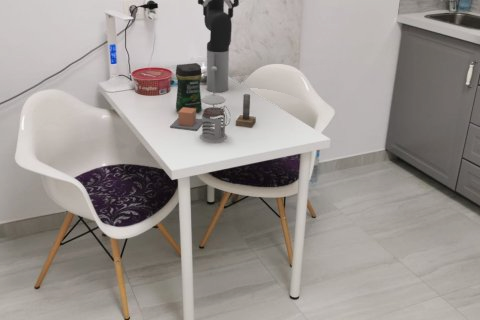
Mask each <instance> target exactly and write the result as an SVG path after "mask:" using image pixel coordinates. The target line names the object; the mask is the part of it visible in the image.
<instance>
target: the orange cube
mask: <svg viewBox="0 0 480 320" xmlns="http://www.w3.org/2000/svg"><path fill="white" fill-rule="evenodd" d="M177 112H178V111H177ZM177 114H178V115H177V116H178V117H177V119H178V123H179V125H184V126H193V125H194V123H195V122H196V118H197V113H196V109H194V108H186V107H183V108H182V109H181V110H180V111H179V112H178V113H177Z"/></svg>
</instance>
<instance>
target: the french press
mask: <svg viewBox="0 0 480 320" xmlns="http://www.w3.org/2000/svg"><path fill="white" fill-rule="evenodd" d="M211 70H212V71H216V70H217V68H216V67H212V68H211ZM226 100H227V99H226V98H225V97H224V96H222V95H220V94H217V93H216V94H215V92H214V87H213V92H212V93H211V94H207V95H205V96H203V97H201V102H202V103H204V104H206V105H210V106H212V107H210V106H208V107H206V108H204V109H203V110H202V112H203V113H202V115H201V119H202V125H201V129H202V130H201V132H202V133H201V134H200V135H199V137H198V138H199V139H200V140H201V141H202V142H205V143H210V144H216V143H217V144H218V143H223V142H226V140H228V137H229V136H228V135H227V134H226V127H227V126H228V125H230V122H231V119H229V122H228V115H227V112H226V110H225V108H226V109H227V111H228V114H229V116H231V112H230V109H229V108H228V107H227V106H226V105H223V107H222V106H220V107H217V106H218V105H222V104H224V103H225V102H226ZM215 105H216V106H215ZM215 117H216V118H215Z"/></svg>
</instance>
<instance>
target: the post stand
mask: <svg viewBox="0 0 480 320" xmlns="http://www.w3.org/2000/svg"><path fill="white" fill-rule="evenodd" d="M250 108H251V94H248V93H245V94H243V101H242V114H240V115H238V117H237V118H236V120H235V126H236V127H244V128H253V127H254V125H255V124H256V120H257V118H256V117H257V116H252V115H250V112H251V111H250Z"/></svg>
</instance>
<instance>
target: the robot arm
mask: <svg viewBox="0 0 480 320" xmlns="http://www.w3.org/2000/svg"><path fill="white" fill-rule="evenodd" d="M197 4H198V5H201V6H202V8H203V9H202V15H203V16H204V17H203V18H204V26H205V28H206V29H207V30H208V31H210V37H209V38H210V39H209V41H208V42H207V44H206V89H207V90H208V91H209V92H212V93H213V87H214V93H222V92H227V91H228V90H229V66H230V65H229V62H230V61H229V59H230V58H229V57H230V56H229V55H230V54H229V53H230V45H231V43H232V27H233V25H232V18H233V17H234V8H236V7H238V6H239V5H240V0H233V1H232V0H197ZM225 5H227V7H228V9H227V12H224V11H225V10H224V9H225V8H224V6H225ZM212 67H216V68H217V70H216V71H212V70H211V68H212ZM207 90H206V91H207Z"/></svg>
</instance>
